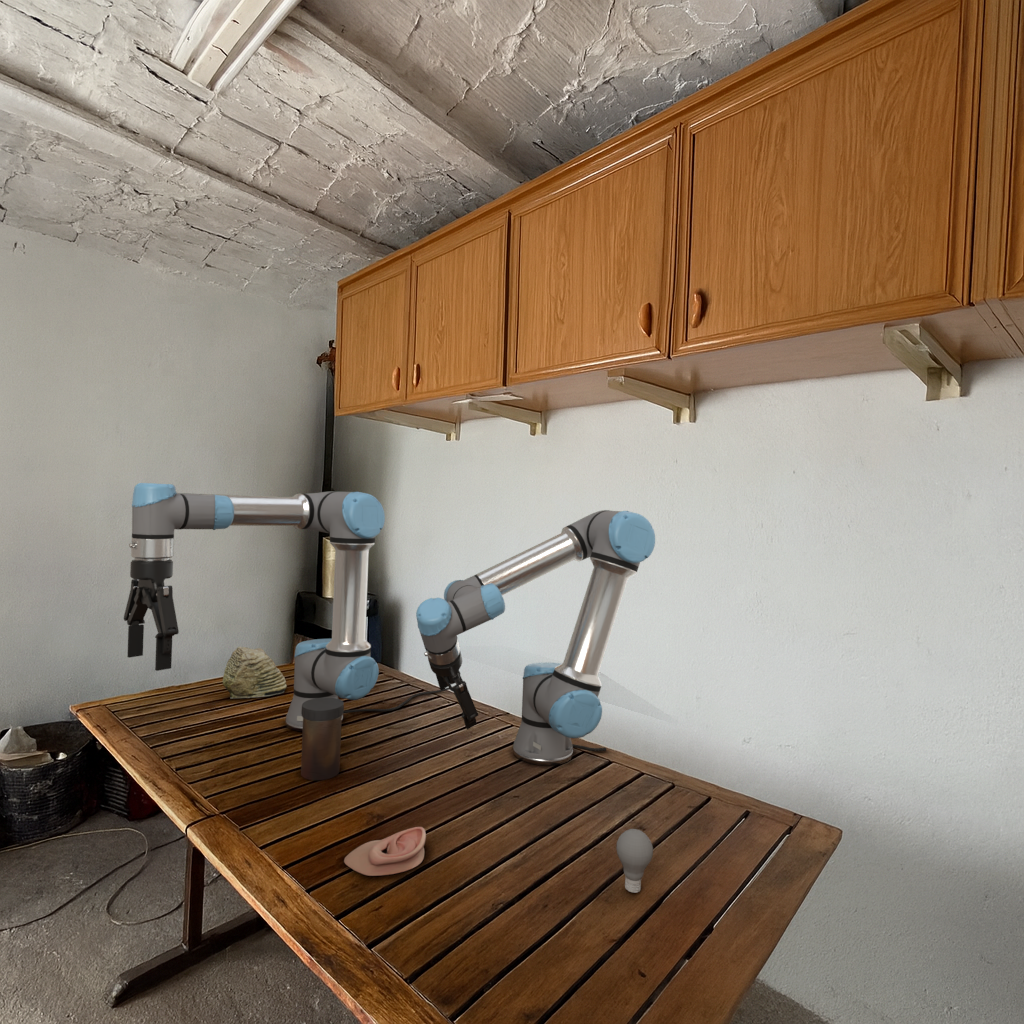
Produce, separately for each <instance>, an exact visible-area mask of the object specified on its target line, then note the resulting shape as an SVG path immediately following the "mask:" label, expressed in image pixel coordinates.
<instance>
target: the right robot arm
mask: <svg viewBox="0 0 1024 1024" xmlns="http://www.w3.org/2000/svg"><path fill="white" fill-rule="evenodd" d="M655 545H656V533H655V530H654V528H653V526H652V523H651V521H650V520H649V519H648V518H647V517H646V516H644V515H642V514H640V513H637V512H633V511H629V510H609V509H603V510H598V511H595V512H593V513H590V514H588V515H586V516H584V517H581V518H580V519H578V520H576V521H574V522H573V523H571V524H568V525H566V526H564V527H562V528H561V531H560V533H559V534H557V535H555V536H553V537H550V538H549V539H547V540H544V541H542V542H540V543H537V544H536V545H534V546H531V547H530V548H528V549H525V550H524V551H522V552H519V553H517V554H515V555H513V556H511V557H509V558H507V559H505V560H503V561H501V562H499V563H496V564H495V565H492V566H490V567H488V568H486V569H484V570H482V571H480V572H478V573H475V574H474V575H471V576H470V577H467V578H466V579H462V580H461V579H457V580H456V579H455V580H453V581H450V582H449V583H448V584H447V586H446V587H445V589H444V592H443V598H442V597H430V598H427V599H425V600H423V601H422V602H421V603H420V604H419V605H418V607H417V608H416V612H415V616H416V617H415V618H416V622H417V628H418V631H419V634H420V637H421V640H422V643H423V647H424V649H425V652H424V653H423V655H424V657H427V661H428V663H429V664H428V665H429V667H430V670H431V671H432V672H433V674H435V677H436V680H437V683H438V687H439V690H443V689H445V688H449V689H450V690H449V691H451V692H453V694H454V697H455V698H456V700H457V703H458V705H459V707H460V709H461V711H462V712H461V718H462V719H463V723H464V725H465V728H466V730H469V729H471V728H473V727H474V726H476V725H477V724H478V722H477V717H478V716H479V712H478V711H477V708H476V706H475V704H474V701H473V699H472V696H471V694H470V692H469V689H468V685H467V682H466V681H465V680H463V677H462V676H461V672H460V669H461V667H462V664H463V656H462V653H461V646H460V642H459V638H458V636H459V635H460V634H463V633H466V632H468V631H469V630H472V629H474V628H477V627H478V626H481V625H483V624H485V623H488V622H489V621H492V620H494V619H496V618H497V617H499V616H501V615H502V614H504V613H505V611H506V603H505V599H504V597H503V596H505V595H506V594H508V593H510V592H513V591H514V590H517V589H519V588H520V587H523V586H524V585H526V584H529V583H531V582H533V581H535V580H537V579H539V578H540V577H542V576H545V575H547V574H548V573H551V572H553V571H555V570H557V569H559V568H562V567H563V566H565V565H567V564H569V563H571V562H573V561H576V562H579V563H580V562H582V561H584V560H586V559H589V560H590V562H591V564H592V566H593V568H592V571H591V574H590V577H589V580H588V584H587V587H586V589H585V593H584V596H583V599H582V602H581V605H580V608H579V612H578V615H577V618H576V622H575V625H574V627H573V631H572V634H571V637H570V640H569V643H568V647H567V650H566V653H565V656H564V659H563V662H562V663H561V662H531V663H529V664H526V665H525V667H524V669H523V675H522V697H521V699H522V700H521V721H520V725H519V727H518V730H517V733H516V736H515V739H514V741H513V745H512V754H513V756H515V757H516V758H517V759H518V760H520V761H522V762H524V763H528V764H531V765H535V766H558V765H563V764H565V763H568V762H569V761H571V760H572V758H573V756H574V749H579V750H583V751H587V752H596V753H597V752H599V753H600V752H607V747H589V746H585V745H579V744H573V742H572V739H581V738H584V737H585V736H588V735H590V734H591V733H593V732H594V731H595V729H597V727H598V726H599V724H600V722H601V720H602V716H603V706H602V704H601V700H600V698H599V695H600V692H601V688H602V686H603V685H602V681H601V679H600V677H599V673H600V670H601V666H602V663H603V660H604V657H605V654H606V650H607V647H608V644H609V641H610V637H611V636H612V635H611V634H612V631H613V628H614V624H615V621H616V618H617V616H618V613H619V608H620V606H621V603H622V600H623V596H624V593H625V590H626V587H627V583H628V580H629V579H630V578H631V577H633V576H635V575H637V574H638V570H639V568H640V564H641V563H642V562H644V561H646V559H649V558H650V556H651V555H652V554H653V552H654V550H655V547H656V546H655ZM452 685H453V686H452Z"/></svg>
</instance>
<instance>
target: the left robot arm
mask: <svg viewBox="0 0 1024 1024" xmlns="http://www.w3.org/2000/svg"><path fill="white" fill-rule="evenodd" d="M385 515H386V513H385V511H384V508H383V505H382V503H381V502H380V501H379V500H378V498H377V497H375V495H373V494H370V493H367V492H363V491H362V492H361V491H337V490H336V491H335V490H333V491H332V490H330V491H321V492H311V493H295V494H294V495H293V496H276V495H275V496H274V495H273V496H272V495H248V494H247V495H246V494H244V495H243V494H220V493H219V494H218V493H217V494H216V493H215V494H214V493H189V492H187V493H186V492H177V491H176V486H175V485H174V484H173V483H152V482H139V483H137V484H136V485H135V486H134V488H133V492H132V501H131V520H132V521H131V542H130V543H128V547H129V548H130V549H131V550H130V556H131V558H133V559H132V560H131V561H130V567H129V568H130V571H129V574H130V575H129V576H130V578H131V581H130V590H129V594H128V598H127V603H126V607H125V610H124V615H123V621H124V622H126V624H127V626H128V629H127V630H128V631H127V658H135V657H142V656H144V635H145V634H144V630H145V625H144V624H145V623H146V621H145V619H144V618H145V616H146V615H147V612H148V609H149V610H151V613H152V618H153V620H154V624H155V627H156V631H157V633H156V635H155V636H154V638H155V661H154V663H155V665H154V668H155V669H154V670H155V671H157V672H159V671H164V670H169V669H172V659H173V657H172V655H173V637H175V636H176V635H179V632H180V631H179V625H178V619H177V615H176V614H177V613H176V609H175V603H174V597H173V595H174V593H173V585H165V580H167V579H171V578H172V577H173V575H174V573H173V572H174V561H173V560H172V559H171V558H173V557H174V554H175V553H174V552H175V530H213V531H215V530H224V529H228V528H230V526H233V527H234V526H237V527H238V526H240V527H243V526H246V527H247V526H249V527H250V526H258V527H259V526H268V527H269V526H276V527H277V526H282V527H284V526H285V527H286V526H287V527H288V526H289V527H290V526H291V527H293V528H294V529H296V530H308V531H309V530H310V531H316V532H319V533H325V534H329V544H330V545H331V546H332V547H333V548H334V550H335V551H334V572H333V573H334V577H333V599H332V625H331V626H332V627H331V638H317V639H308V640H304V641H300V642H299V643H297V645H296V646H295V650H294V655H293V657H294V672H293V673H294V674H293V695H292V696H293V697H292V699H291V702H290V704H289V708H288V711H287V713H286V715H285V726H286V728H287V729H289V730H291V731H294V732H295V731H296V732H301V733H302V732H303V717H302V714H301V710H302V704H303V703H304V702H305V701H308V700H311V699H315V698H336V699H339V698H341V699H342V700H343V699H344V700H348V701H349V700H350V701H357V700H360V699H362V698H364V697H365V696H367V695H368V694H370V692H371V690H372V689H374V687H375V685H376V683H377V682H378V678H379V674H380V672H379V671H380V670H379V669H380V668H379V665H378V663H377V662H376V660H375V659H374V657H371V652H372V649H371V648H372V644H371V643H370V642H368V640H367V639H366V631H367V607H368V606H367V605H368V604H367V602H368V582H369V581H368V579H369V555H370V553H369V552H370V550H371V548H372V547H374V545H375V544H376V536H378V535H379V534H380V533H381V530H383V528H384V526H385V522H386V521H385V520H386V516H385ZM446 691H451V690H450V689H449V687H446V688H445V689H443V690H440V689H438V690H430V691H423V692H418V693H415V694H412V695H411V696H410V697H408V698H407V699H406V700H404V701H403V702H401V703H400V704H398V705H397V706H394V707H391V708H359V709H357V708H356V709H348V710H347V709H346V710H344V713H343V715H342V720H341V724H342V723H343V722H344V714H352V713H361V712H362V713H363V712H364V713H365V712H374V713H375V712H376V713H377V712H378V713H379V712H380V713H381V712H382V713H383V712H385V713H386V712H392V711H395V710H398V709H400V708H401V707H402V706H404V705H405V704H407V703H408V702H410V701H411V700H412V699H413V698H415V697H418V696H423V695H430V694H438V693H443V692H446Z"/></svg>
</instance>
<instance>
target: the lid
mask: <svg viewBox="0 0 1024 1024" xmlns="http://www.w3.org/2000/svg"><path fill="white" fill-rule="evenodd" d="M344 704H345V703H344V701H343V699H339V698H338V699H336V698H315V699H311V700H308V701H305V702H304V703H303V704H302V710H301V714H302V717H303V718H305V719H307V720H313V721H326V720H332V719H336V718H338V717H340V716H342V715H343V716H344V714H345V713H344V711H345V705H344Z"/></svg>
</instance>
